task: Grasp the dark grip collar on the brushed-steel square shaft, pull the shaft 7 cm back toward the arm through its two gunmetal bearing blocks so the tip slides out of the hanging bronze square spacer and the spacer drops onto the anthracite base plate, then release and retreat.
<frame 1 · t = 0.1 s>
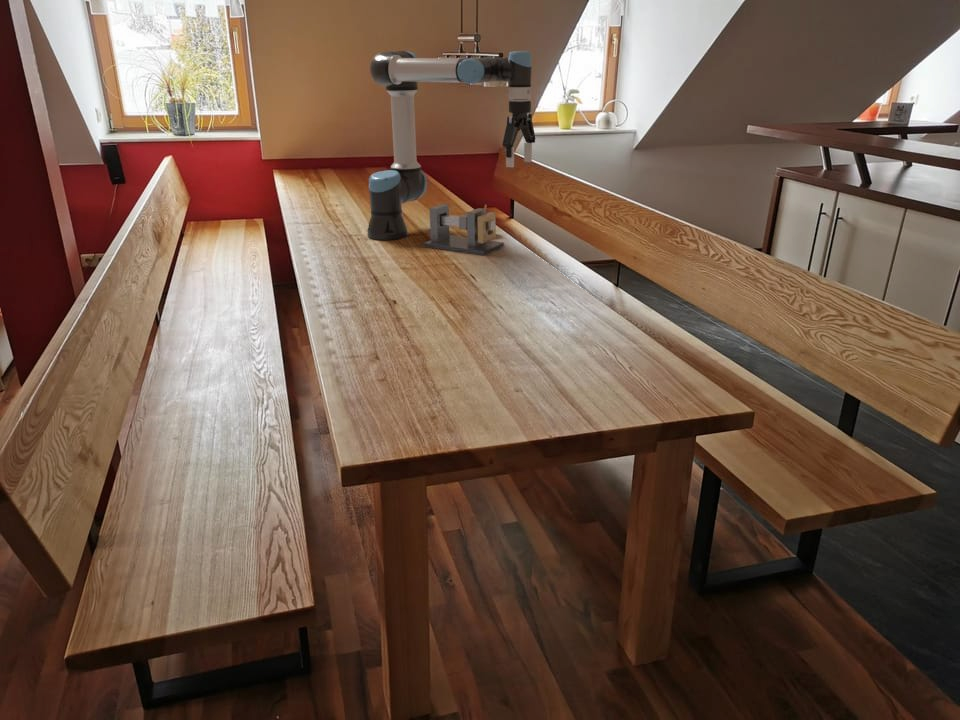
hand: (519, 164, 263), 28 cm above the table, fingers open, 13 cm apart
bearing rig: (463, 246, 269), on the table
shaft: (463, 221, 266), point 9 cm above the table, slide at 0.0 cm, touching spacer
spacer: (486, 227, 262), point 8 cm above the table, touching shaft
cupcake: (481, 235, 286), on the table
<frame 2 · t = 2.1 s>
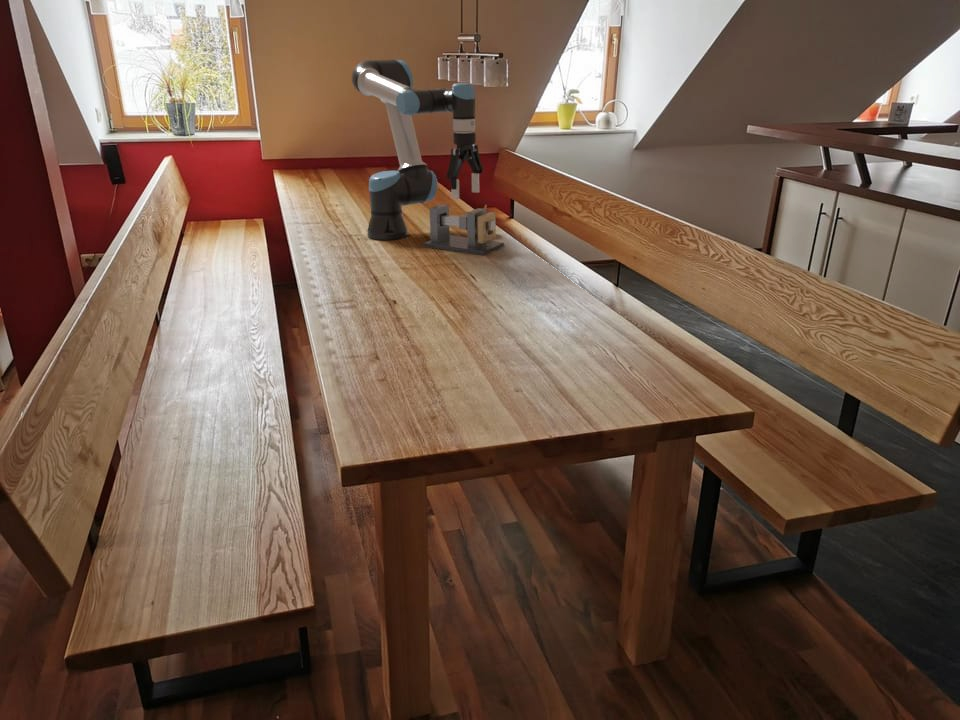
hand: (465, 195, 262), 18 cm above the table, fingers open, 13 cm apart
nothing on the table moved.
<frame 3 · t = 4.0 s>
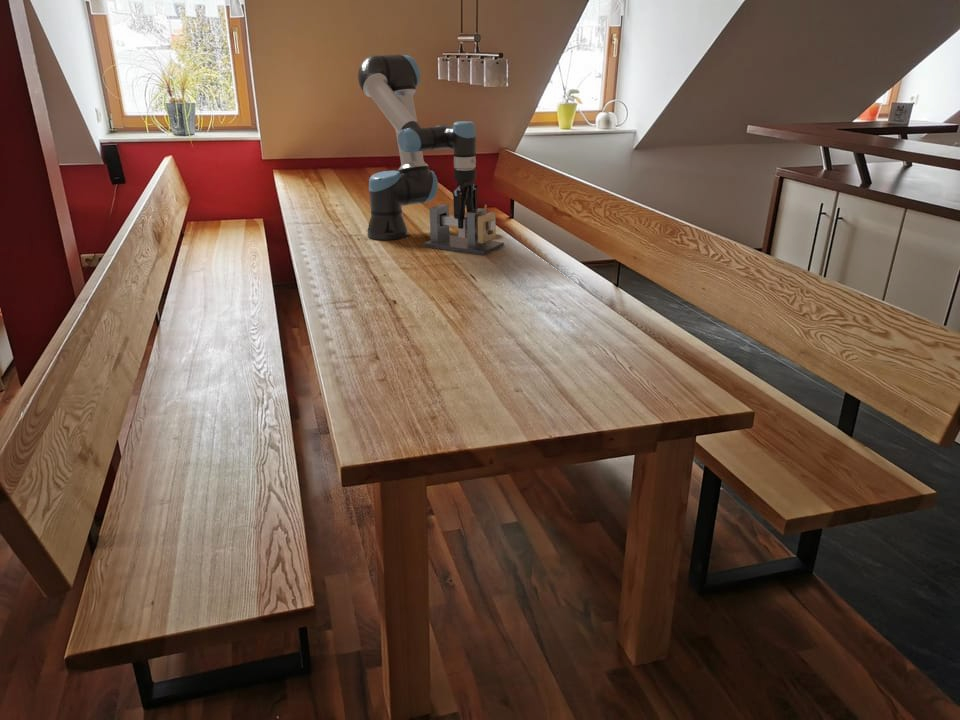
hand: (466, 235, 267), 4 cm above the table, fingers closed on shaft, 4 cm apart
shaft: (463, 221, 266), point 9 cm above the table, slide at 0.0 cm, touching gripper, spacer
everything else where it was.
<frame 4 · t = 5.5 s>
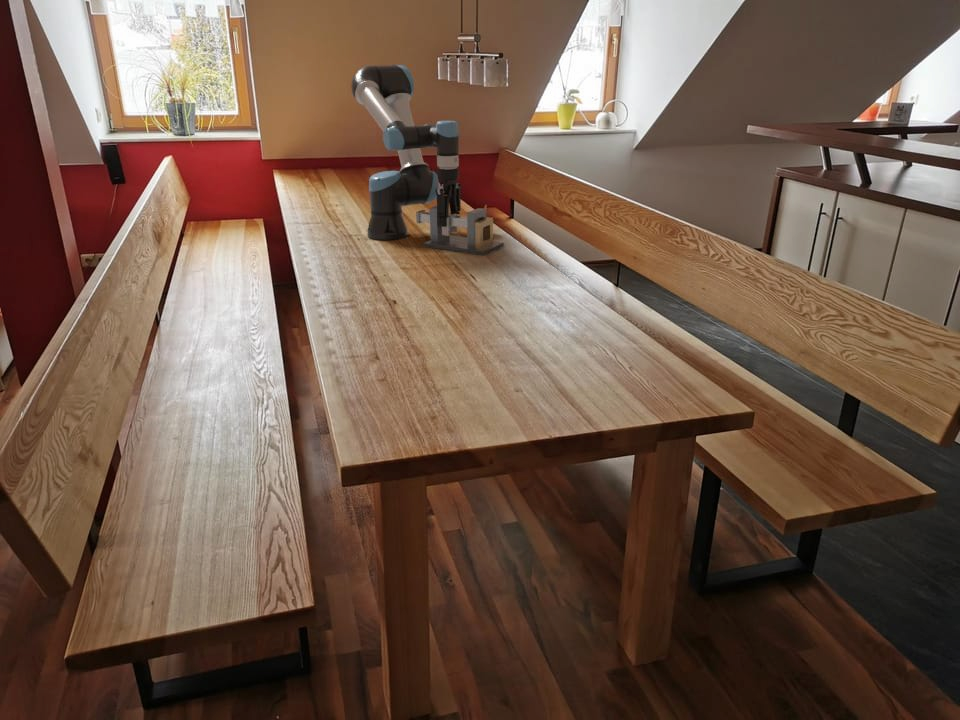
hand: (449, 233, 271), 4 cm above the table, fingers closed on shaft, 4 cm apart
shaft: (447, 219, 269), point 9 cm above the table, slide at 6.8 cm, touching gripper
spacer: (484, 232, 263), point 6 cm above the table, touching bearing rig
everything else where it was.
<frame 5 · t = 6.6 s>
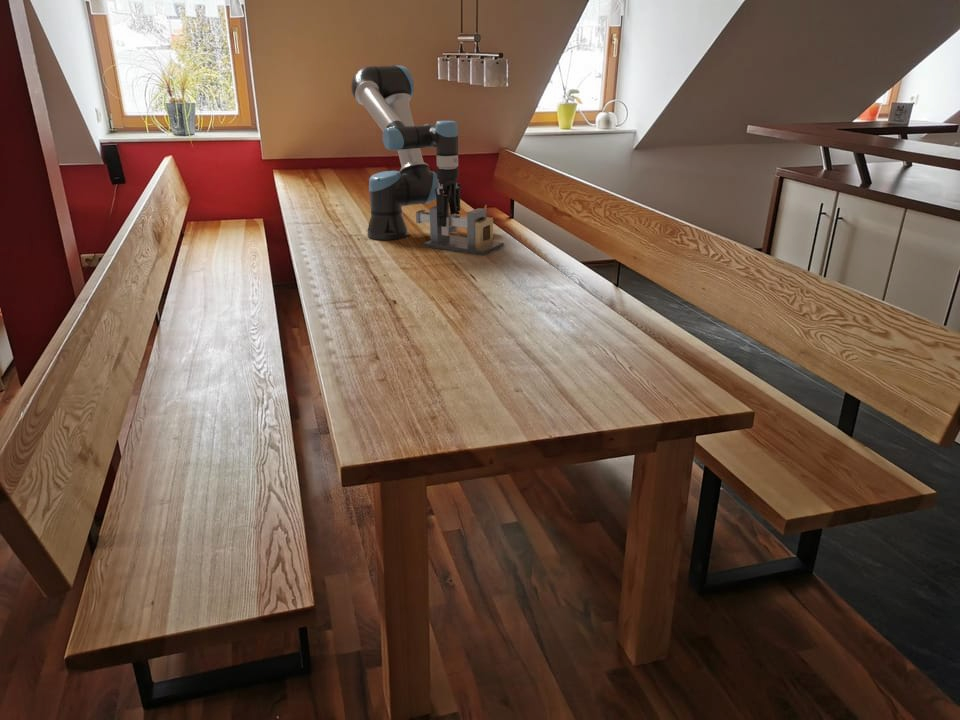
hand: (449, 233, 271), 4 cm above the table, fingers closed on shaft, 4 cm apart
shaft: (446, 219, 269), point 9 cm above the table, slide at 6.9 cm, touching gripper
everything else where it was.
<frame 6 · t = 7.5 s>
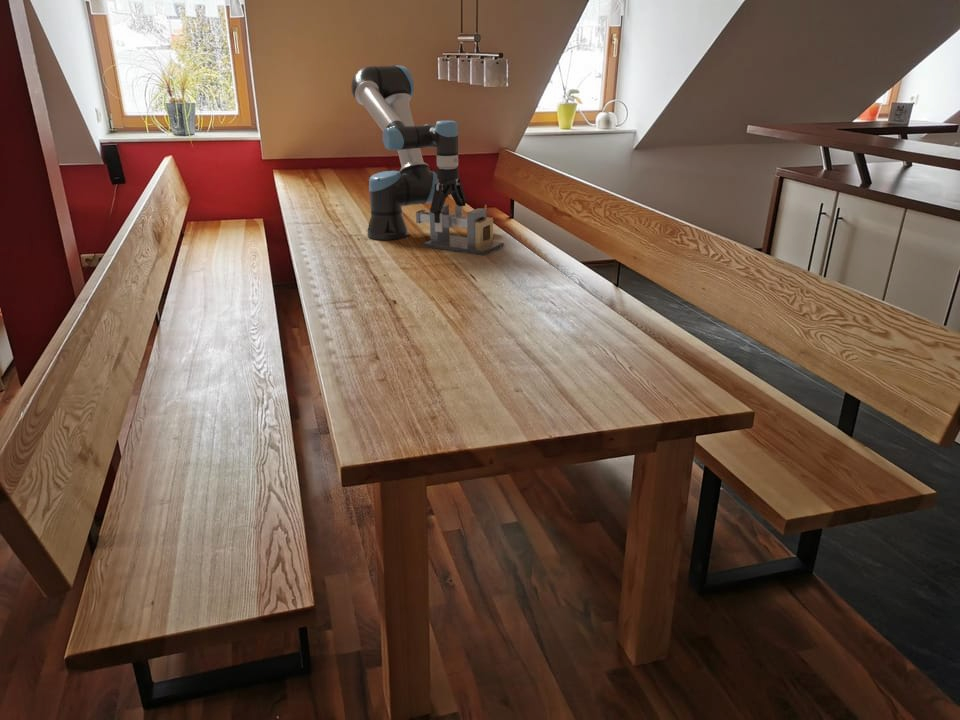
hand: (449, 227, 270), 6 cm above the table, fingers open, 13 cm apart
shaft: (446, 219, 269), point 9 cm above the table, slide at 6.9 cm
everything else where it was.
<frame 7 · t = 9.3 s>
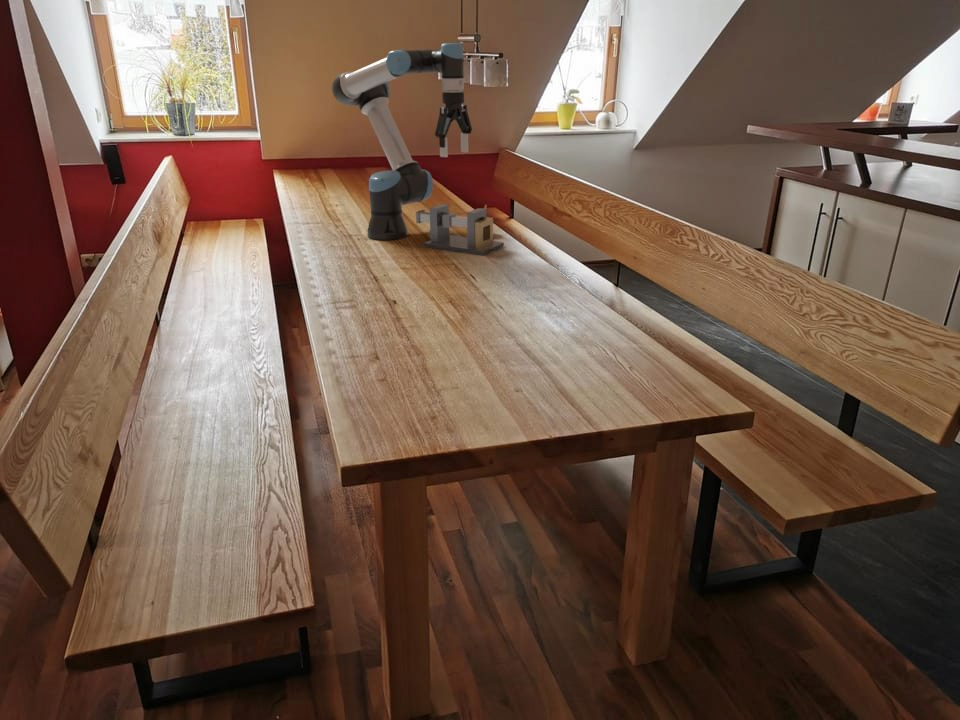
hand: (454, 154, 268), 31 cm above the table, fingers open, 13 cm apart
nothing on the table moved.
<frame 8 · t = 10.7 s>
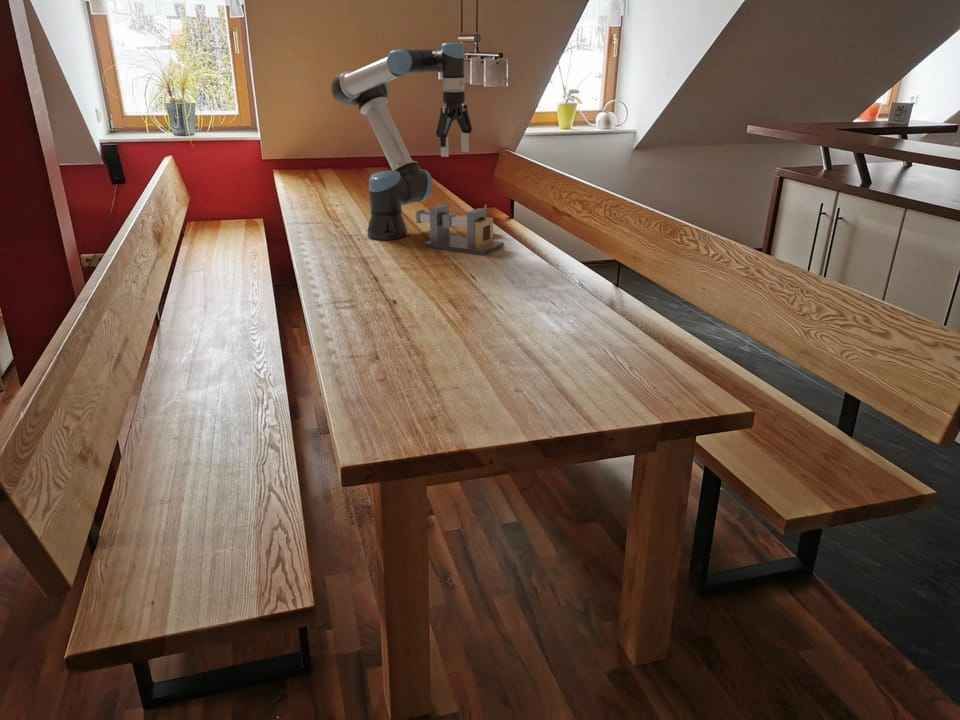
hand: (455, 154, 269), 31 cm above the table, fingers open, 13 cm apart
nothing on the table moved.
at the end: shaft slide at 6.9 cm; spacer point 6.0 cm above the table; spacer touching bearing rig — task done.
